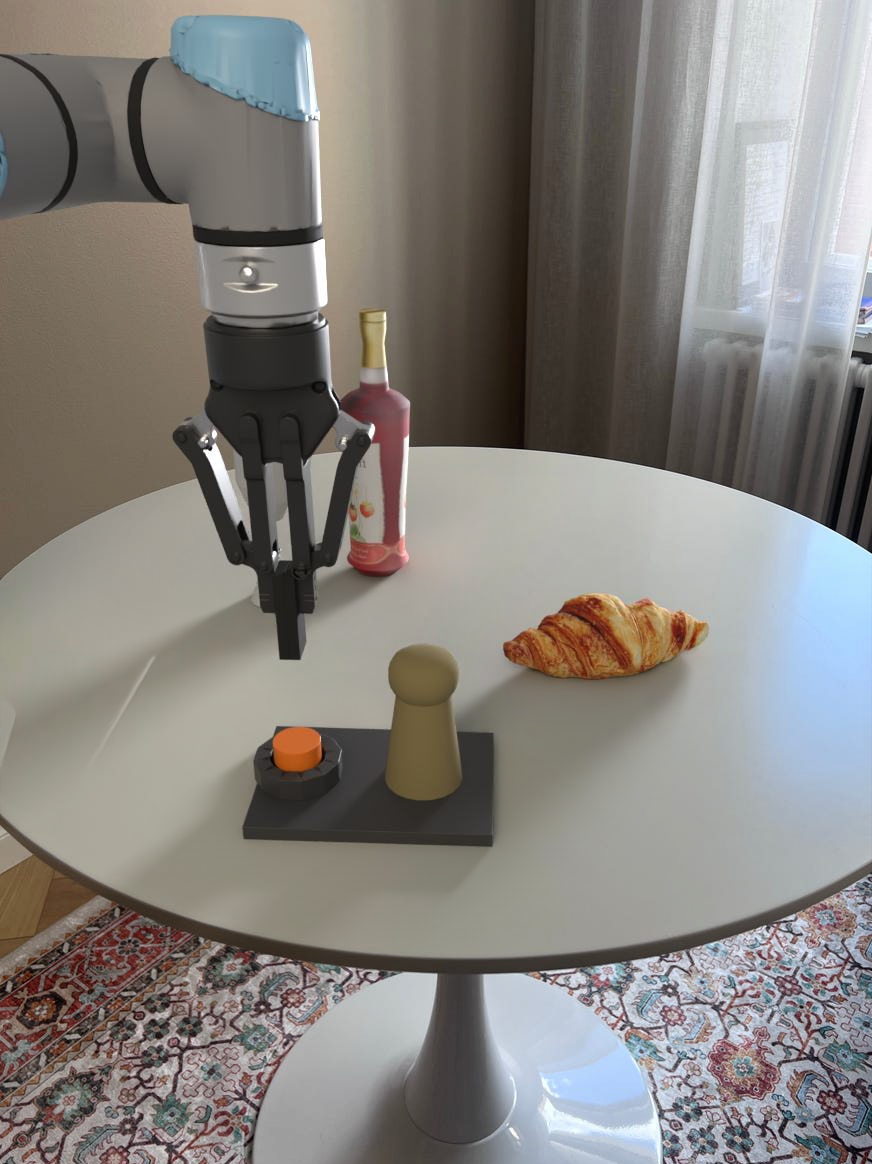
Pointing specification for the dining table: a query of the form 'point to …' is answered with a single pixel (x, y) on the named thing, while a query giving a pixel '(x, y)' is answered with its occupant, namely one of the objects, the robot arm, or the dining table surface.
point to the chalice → (279, 497)
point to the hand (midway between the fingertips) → (293, 650)
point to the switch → (297, 749)
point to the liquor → (378, 459)
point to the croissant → (605, 638)
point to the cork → (423, 724)
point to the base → (369, 796)
